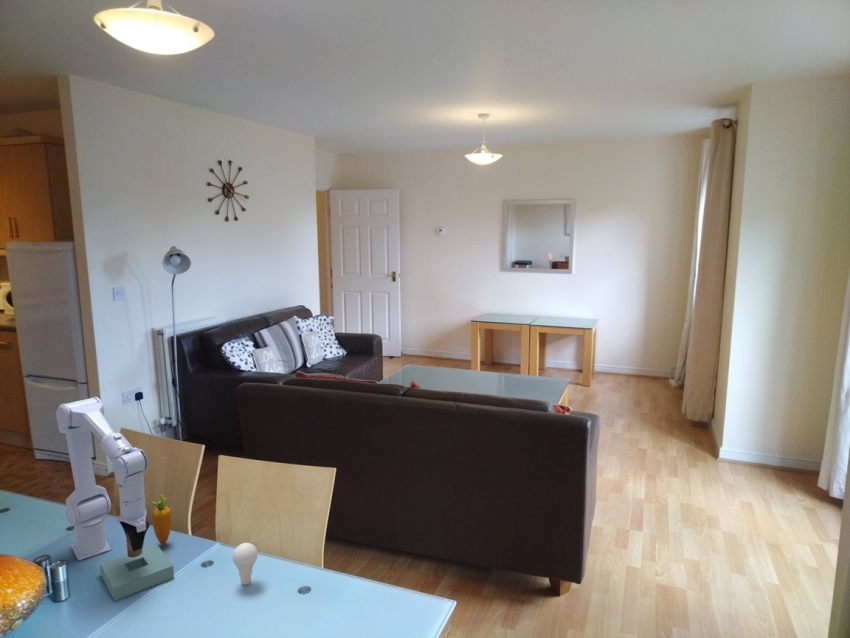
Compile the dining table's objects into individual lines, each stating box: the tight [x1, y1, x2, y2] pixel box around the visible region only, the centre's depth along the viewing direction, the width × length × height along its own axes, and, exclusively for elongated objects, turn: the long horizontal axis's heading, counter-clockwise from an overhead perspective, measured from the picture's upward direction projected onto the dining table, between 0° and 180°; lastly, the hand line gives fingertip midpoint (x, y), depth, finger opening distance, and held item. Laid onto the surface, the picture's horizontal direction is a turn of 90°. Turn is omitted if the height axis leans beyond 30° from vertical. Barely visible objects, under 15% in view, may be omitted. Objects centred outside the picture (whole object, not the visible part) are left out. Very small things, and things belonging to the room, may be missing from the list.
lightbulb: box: [232, 542, 258, 585], centre depth 139 cm, size 6×6×11 cm
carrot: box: [151, 494, 172, 547], centre depth 156 cm, size 5×5×15 cm
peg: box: [125, 532, 142, 557], centre depth 141 cm, size 3×3×7 cm
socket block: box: [99, 543, 175, 602], centre depth 142 cm, size 14×14×4 cm
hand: (135, 546), depth 141 cm, fingers closed on peg, 3 cm apart
